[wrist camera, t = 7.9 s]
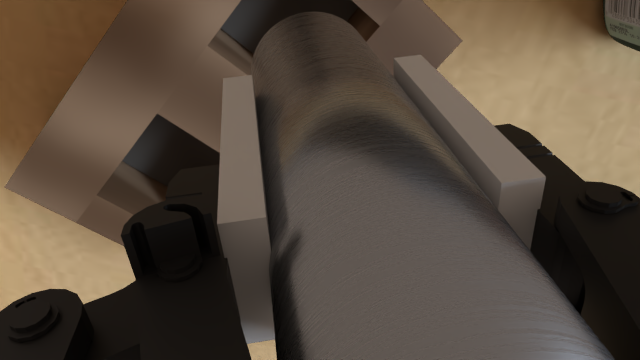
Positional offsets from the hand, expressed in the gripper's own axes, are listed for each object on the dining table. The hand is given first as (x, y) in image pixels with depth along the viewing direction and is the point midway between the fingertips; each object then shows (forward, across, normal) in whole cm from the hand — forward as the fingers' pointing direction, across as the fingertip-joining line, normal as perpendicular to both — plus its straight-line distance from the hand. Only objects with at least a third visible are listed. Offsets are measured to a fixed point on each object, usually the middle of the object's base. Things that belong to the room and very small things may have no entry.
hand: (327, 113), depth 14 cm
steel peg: (+3, 0, 0) cm, 3 cm away
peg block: (+15, +3, +3) cm, 15 cm away
